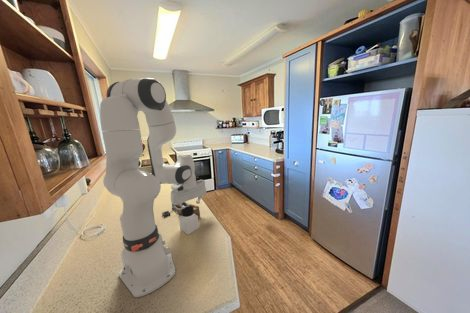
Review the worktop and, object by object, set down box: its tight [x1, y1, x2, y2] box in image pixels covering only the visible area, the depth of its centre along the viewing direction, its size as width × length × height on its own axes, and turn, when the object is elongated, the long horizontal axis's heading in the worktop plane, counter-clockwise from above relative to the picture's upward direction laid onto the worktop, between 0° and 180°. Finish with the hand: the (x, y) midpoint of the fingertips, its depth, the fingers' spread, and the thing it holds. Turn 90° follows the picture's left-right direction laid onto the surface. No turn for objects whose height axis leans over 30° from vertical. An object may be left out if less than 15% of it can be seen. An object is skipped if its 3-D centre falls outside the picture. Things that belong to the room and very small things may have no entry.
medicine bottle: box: [178, 206, 200, 235], centre depth 90 cm, size 7×7×12 cm
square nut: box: [161, 210, 171, 218], centre depth 106 cm, size 4×4×2 cm
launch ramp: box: [177, 203, 201, 218], centre depth 104 cm, size 12×8×6 cm, turn 40°
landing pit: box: [171, 201, 190, 214], centre depth 113 cm, size 10×8×5 cm
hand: (190, 206), depth 101 cm, fingers open, 8 cm apart
